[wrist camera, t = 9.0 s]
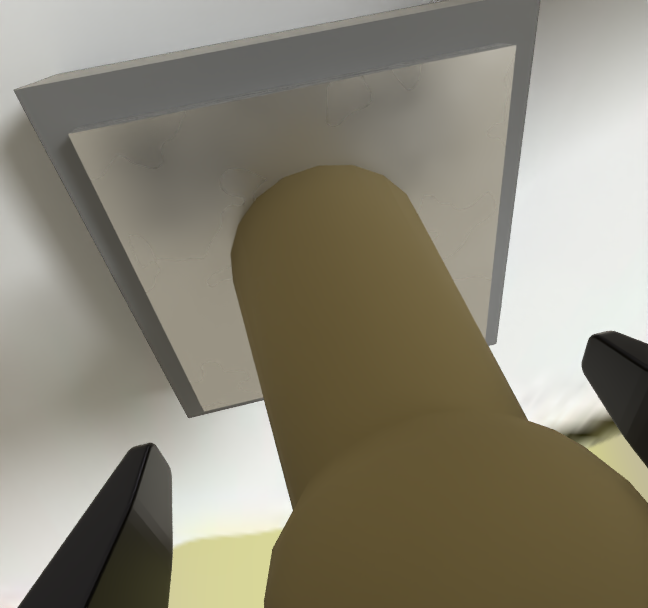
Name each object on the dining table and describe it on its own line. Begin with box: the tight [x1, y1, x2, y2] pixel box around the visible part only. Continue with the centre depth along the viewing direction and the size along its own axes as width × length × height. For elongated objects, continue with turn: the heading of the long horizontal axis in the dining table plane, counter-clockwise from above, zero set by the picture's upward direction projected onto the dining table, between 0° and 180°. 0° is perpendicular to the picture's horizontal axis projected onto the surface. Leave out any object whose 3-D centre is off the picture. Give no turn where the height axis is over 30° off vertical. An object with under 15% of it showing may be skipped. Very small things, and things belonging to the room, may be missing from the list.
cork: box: [230, 165, 648, 608], centre depth 8 cm, size 6×6×11 cm
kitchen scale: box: [14, 0, 540, 418], centre depth 15 cm, size 13×12×4 cm
